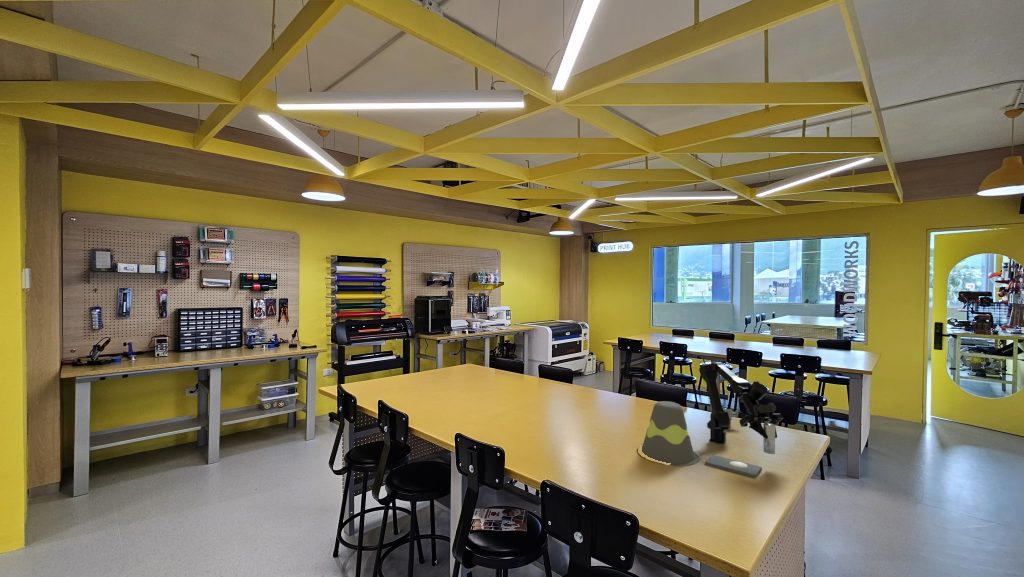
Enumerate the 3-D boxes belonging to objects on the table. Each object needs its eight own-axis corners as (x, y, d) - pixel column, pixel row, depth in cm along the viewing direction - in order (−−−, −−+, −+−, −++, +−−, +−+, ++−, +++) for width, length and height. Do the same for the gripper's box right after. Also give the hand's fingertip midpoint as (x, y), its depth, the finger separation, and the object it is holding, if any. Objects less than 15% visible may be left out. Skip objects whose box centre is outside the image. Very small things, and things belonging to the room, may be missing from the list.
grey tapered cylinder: (708, 453, 201) (708, 403, 201) (685, 472, 180) (686, 415, 180) (652, 439, 219) (652, 393, 220) (626, 454, 199) (626, 403, 199)
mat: (704, 464, 188) (704, 461, 188) (712, 457, 196) (712, 454, 196) (755, 477, 174) (755, 474, 175) (761, 469, 183) (761, 466, 183)
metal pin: (762, 452, 185) (762, 424, 185) (764, 449, 188) (764, 422, 188) (773, 454, 182) (774, 426, 182) (776, 451, 185) (776, 424, 185)
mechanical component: (739, 428, 237) (739, 410, 237) (720, 427, 239) (720, 409, 239) (738, 427, 240) (738, 409, 240) (718, 425, 242) (718, 408, 242)
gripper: (744, 397, 187) (763, 430, 176) (780, 395, 191) (801, 427, 180) (731, 410, 194) (749, 442, 184) (766, 408, 198) (785, 439, 187)
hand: (771, 438), depth 183 cm, fingers closed on metal pin, 4 cm apart
